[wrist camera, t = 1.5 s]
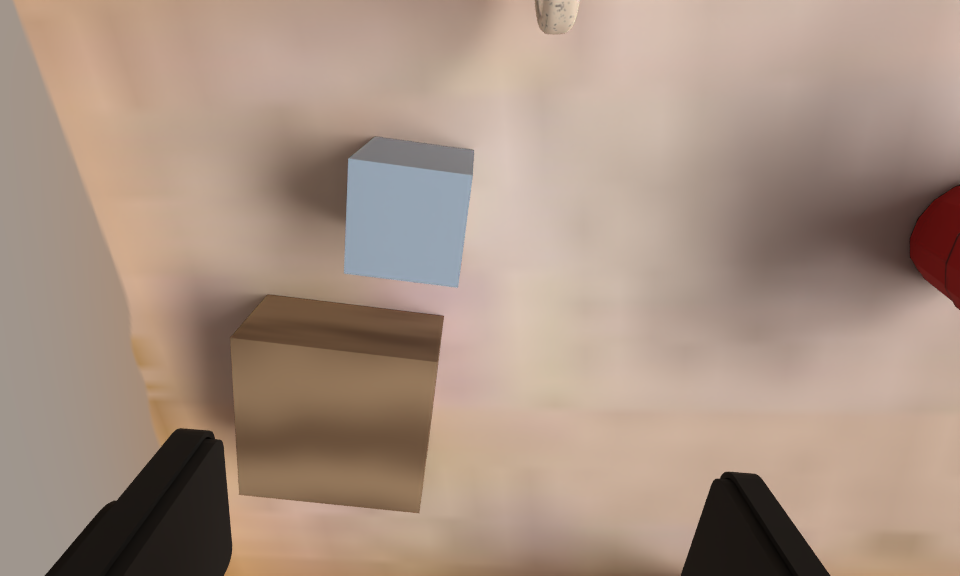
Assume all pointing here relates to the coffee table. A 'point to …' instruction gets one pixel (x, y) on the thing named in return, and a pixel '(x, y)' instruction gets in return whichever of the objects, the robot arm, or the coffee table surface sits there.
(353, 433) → the walnut plinth
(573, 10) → the teacup with lid
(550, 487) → the coffee table surface
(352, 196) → the slate block
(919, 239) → the plastic cup
